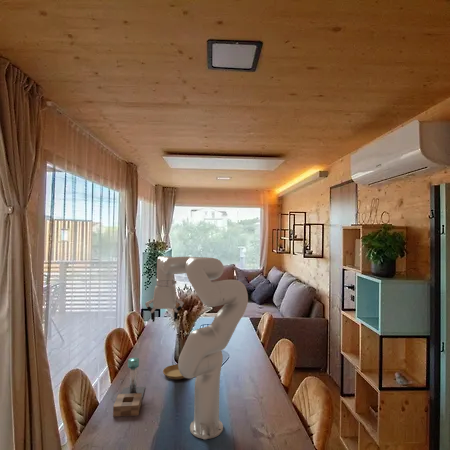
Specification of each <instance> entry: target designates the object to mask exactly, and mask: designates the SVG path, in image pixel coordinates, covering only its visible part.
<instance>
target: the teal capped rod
mask: <svg viewBox="0 0 450 450" xmlns="http://www.w3.org/2000/svg"><path fill="white" fill-rule="evenodd" d="M139 366H140V358H139V357H129V358H128V359H127V369H129V387H130V394H133V393H136V387H137V375H138V374H137V372H138V371H137V370H138V368H139Z"/></svg>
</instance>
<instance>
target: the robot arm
mask: <svg viewBox="0 0 450 450" xmlns="http://www.w3.org/2000/svg"><path fill="white" fill-rule="evenodd" d="M224 267H225V266H224V264H223V262H222V261H221V260H219V259H218V258H217V257H216V258H215V257H203V256H170V255H169V256H168V255H165V256H163V255H161V256H158V257H157V260H156V285H155V286H154V291H153V298H152V299H150V300H148V301H146V302H145V304H144V305H145V307H146V309H147V310H148V312H150V320H152V323H154V322H155V321H156V315H155V314H156V312H155V311H156V310H165V309H166V310H168V309H169V310H170V309H171V310H173V313H174V314H173V322H176V320H178V312H179V311H180V310H181V309H183V306H184V304H185V302H184V301H182V300H180V299H178V298H177V293H176V291H177V290H176V286H175V285H176V284H177V280H175V279H174V275H178V274H186V277H187V279H188V281H189V283H190V286H191V287H192V288H193V290H194V291H195V293H196V295H197V297H198V298H199V300H200V302H201V303H202V304H203V305H204V306H206V307H218V306H222V305H223V306H222V307H221V308H220V309H219V310H218V311H217V312H216V314H215V316H214V318H213V320H212V322H211V323H210V324H209V325H208V326H204V327H199V328H197V329H195V330H193V331H191V332H190V333H189V335H188V336H187V339H186V340H185V343H184V345H183V348H182V349H181V351H180V354H179V357H178V361H177V362H178V363H177V364H178V368H179V371H180V373H181V375H182V376H183V377H185V378H184V379H192V378H195V381H194V408H193V409H194V410H193V413H194V414H193V421H191V423H190V425H189V431H190V433H191V434H192V435H193V436H194V437H195V438H199V439H203V440H208V439H209V440H210V439H215V438H216V437H218V436H219V435H221V434H222V432H223V430H224V424H223V422H222V421H221V420H220V386H221V385H220V383H221V371H222V367H223V366H222V365H223V359H224V356H223V352H222V351H223V350H224V349H226V348H227V346H228V344H229V343H230V340H231V338H232V336H233V335H234V333H235V331H236V328H237V327H238V324H239V323H240V321H241V320H242V318H243V316H244V314H245V312H246V310H247V307H248V302H249V294H248V291H247V288H246V285H245V284H244V283H243V282H242V281H240V280H238V279H223V280H218V279H220V278H221V277H222V275H223V274H224V271H225V268H224ZM152 303H153V304H152ZM150 304H152V306H150ZM177 304H179V306H178V307H177V306H176V305H177Z"/></svg>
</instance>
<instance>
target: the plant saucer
mask: <svg viewBox="0 0 450 450" xmlns="http://www.w3.org/2000/svg"><path fill="white" fill-rule="evenodd" d="M162 373H163V374H164V376H165V377H167V378H168V379H171V380H182V379H186V378H185V377H183V376H182V375H181V373H180V371H179V368H178V363H177V364H172V365H168V366H166V367H164V368H163V370H162Z"/></svg>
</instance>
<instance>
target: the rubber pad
mask: <svg viewBox="0 0 450 450" xmlns="http://www.w3.org/2000/svg"><path fill="white" fill-rule="evenodd" d="M145 389H146V386H136V393H142V398H143V399H144V392H145V391H146V390H145ZM120 394H130V386H129V387H128V386H127V387H123V388H122V390H121V393H120Z"/></svg>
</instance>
